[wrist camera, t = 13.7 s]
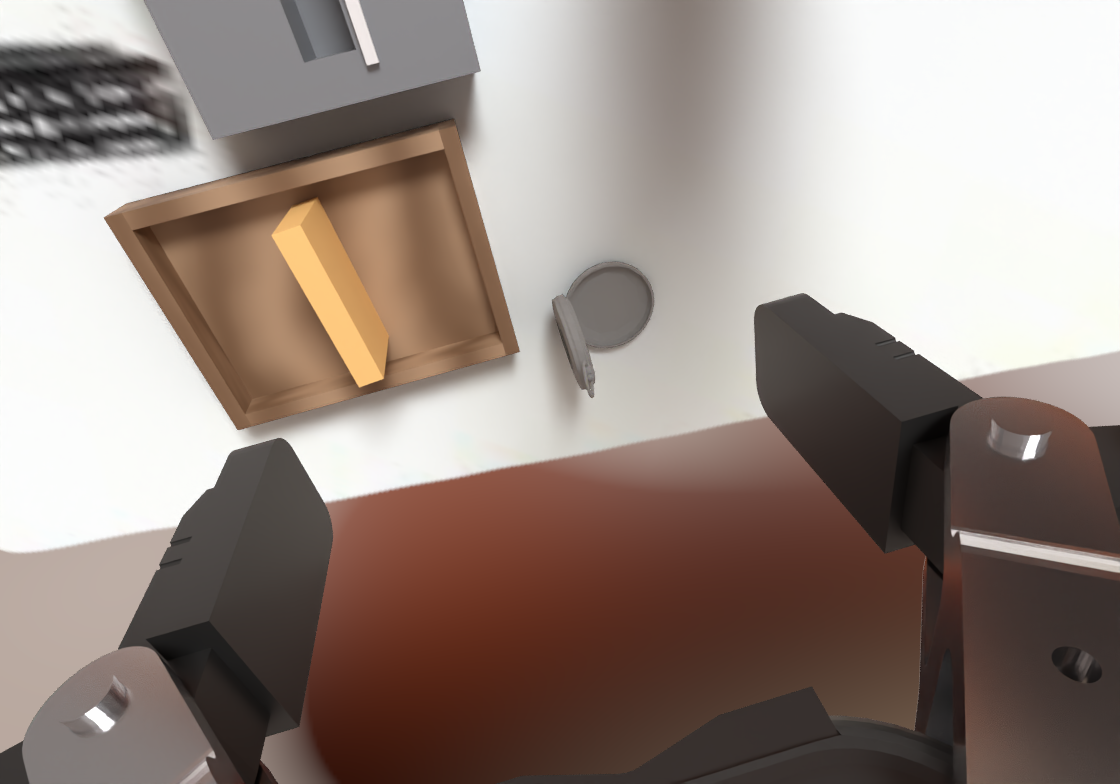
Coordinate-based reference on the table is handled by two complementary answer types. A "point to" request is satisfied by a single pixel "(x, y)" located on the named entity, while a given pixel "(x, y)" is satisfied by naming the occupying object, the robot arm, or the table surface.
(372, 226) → the tray
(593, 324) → the pocket watch
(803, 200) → the table surface
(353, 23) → the dispenser
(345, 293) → the yellow rectangular block
